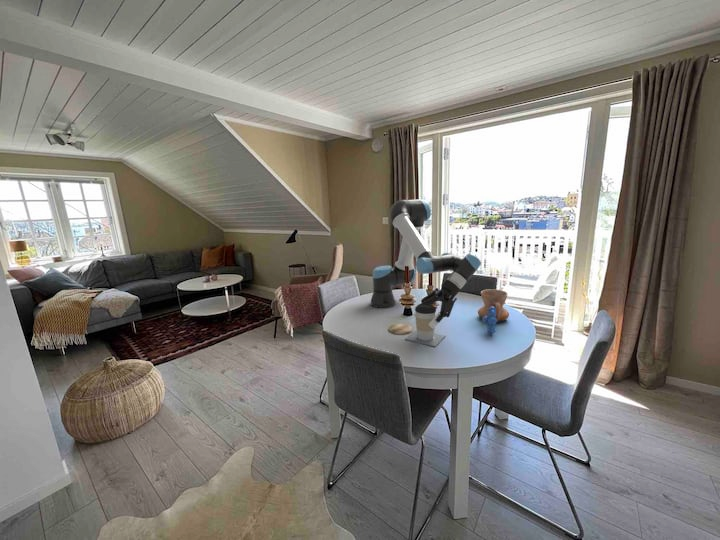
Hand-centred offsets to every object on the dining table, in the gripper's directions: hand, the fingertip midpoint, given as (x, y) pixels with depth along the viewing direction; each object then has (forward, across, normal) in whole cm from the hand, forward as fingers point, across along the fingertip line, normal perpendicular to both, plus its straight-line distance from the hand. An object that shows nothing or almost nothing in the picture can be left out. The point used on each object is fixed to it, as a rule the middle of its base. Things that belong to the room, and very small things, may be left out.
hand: (422, 321), depth 128 cm
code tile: (+5, 0, -7) cm, 8 cm away
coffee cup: (+4, 0, -7) cm, 8 cm away
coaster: (+9, +13, -2) cm, 16 cm away
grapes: (-16, -4, -28) cm, 33 cm away
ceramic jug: (-26, +8, -38) cm, 46 cm away
